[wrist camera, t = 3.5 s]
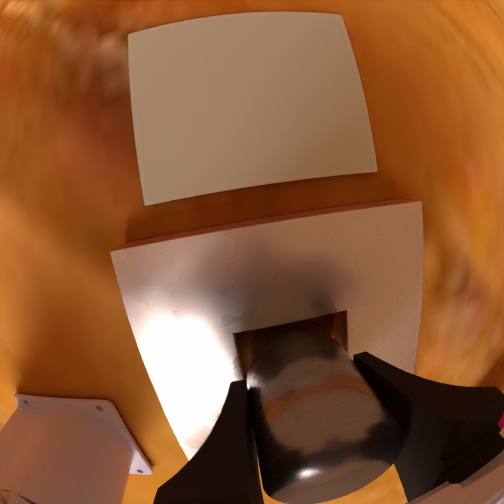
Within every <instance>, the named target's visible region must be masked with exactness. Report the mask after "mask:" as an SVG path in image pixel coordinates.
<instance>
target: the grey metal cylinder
mask: <svg viewBox="0 0 504 504" xmlns="http://www.w3.org/2000/svg"><path fill="white" fill-rule="evenodd" d="M251 360H252V362H251V364H250V367H249V369H248V373H247V387H248V393H249V400H250V407H251V415H252V421H253V428H254V434H255V441H256V447H257V454H258V460H259V466H260V472H261V478H262V484H263V489H264V491H265V492H266V494H267V495H268V496H270V497H271V498H273V499H275V500H277V501H280V502H283V503H288V504H314V503H321V502H326V501H330V500H333V499H337V498H340V497H343V496H345V495H348V494H350V493H352V492H355V491H357V490H359V489H361V488H362V487H364V486H366V485H368V484H369V483H371V482H372V481H374V480H375V479H377V478H378V477H379V476H380V475H382V474H383V473H384V472H385V471H386V470H387V469H388V468H389V467H390V466H391V465H392V464H393V463H394V462H395V461H396V459H397V458H398V456H399V455H400V453H401V451H402V449H403V447H404V443H405V434H404V431H403V430H402V428H401V427H400V425H399V424H398V422H397V421H396V420H395V418H394V417H393V415H392V414H391V413H390V411H389V410H388V408H387V407H386V406H385V404H384V403H383V401H382V400H381V399H380V397H379V396H378V395H377V393H376V392H375V390H374V389H373V388H372V386H371V385H370V383H369V382H368V381H367V379H366V378H365V377H364V375H363V374H362V372H361V371H360V370H359V368H358V367H357V366H356V364H355V363H354V362H353V360H352V359H351V357H350V356H349V355H348V353H347V352H346V351H345V349H344V348H343V347H342V345H341V344H340V343H339V342H338V341H337V340H336V339H334V338H333V337H331V336H329V335H327V334H324V333H322V331H321V330H320V329H319V327H318V326H317V325H316V324H314V323H313V322H311V321H309V320H307V319H305V320H300V321H295V322H291V323H286V324H281V325H276V326H270V327H265V328H264V329H262V330H261V331H260V332H259V334H258V335H257V336H256V338H255V340H254V342H253V344H252V348H251Z"/></svg>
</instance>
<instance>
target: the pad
mask: <svg viewBox="0 0 504 504" xmlns="http://www.w3.org/2000/svg"><path fill="white" fill-rule="evenodd" d="M128 57H129V79H130V94H131V106H132V117H133V127H134V136H135V144H136V152H137V159H138V167H139V173H140V180H141V186H142V192H143V198H144V204H145V206H148V205H152V204H157V203H162V202H167V201H172V200H177V199H182V198H187V197H192V196H198V195H203V194H209V193H215V192H220V191H226V190H232V189H239V188H245V187H251V186H258V185H265V184H272V183H279V182H286V181H294V180H302V179H310V178H319V177H328V176H337V175H347V174H358V173H370V172H378V169H377V162H376V155H375V148H374V142H373V136H372V131H371V125H370V120H369V115H368V110H367V105H366V100H365V96H364V91H363V87H362V83H361V79H360V75H359V71H358V67H357V63H356V60H355V56H354V53H353V49H352V46H351V42H350V39H349V36H348V33H347V30H346V27H345V24H344V21H343V18H342V15H339V14H329V13H315V12H251V13H237V14H227V15H218V16H210V17H203V18H197V19H191V20H185V21H180V22H175V23H170V24H166V25H161V26H157V27H153V28H149V29H145V30H141V31H138V32H134V33H131V34H128Z"/></svg>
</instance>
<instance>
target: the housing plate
mask: <svg viewBox="0 0 504 504" xmlns="http://www.w3.org/2000/svg"><path fill="white" fill-rule="evenodd" d="M110 254H111V259H112V263H113V267H114V271H115V274H116V278H117V282H118V285H119V289H120V293H121V296H122V299H123V303H124V306H125V309H126V313H127V316H128V319H129V322H130V325H131V328H132V331H133V334H134V337H135V340H136V343H137V346H138V348H139V351H140V354H141V356H142V359H143V362H144V364H145V367H146V370H147V372H148V375H149V377H150V380H151V382H152V384H153V387H154V389H155V392H156V394H157V396H158V399H159V401H160V403H161V405H162V408H163V410H164V412H165V414H166V416H167V418H168V421H169V423H170V425H171V427H172V429H173V431H174V433H175V435H176V437H177V439H178V441H179V443H180V445H181V447H182V449H183V451H184V452H185V454H186V456H187V458H188V460H190V459H191V458H192V457H193V456H194V455H195V453H196V452H197V451H198V450H199V448H200V447H201V446H202V444H203V443H204V441H205V440H206V438H207V437H208V435H209V434H210V432H211V430H212V428H213V426H214V424H215V423H216V421H217V419H218V417H219V414H220V412H221V410H222V407H223V405H224V402H225V399H226V396H227V393H228V389H229V385H230V383H231V382H232V381H238V380H244V379H245V377H244V373H243V368H242V363H241V359H240V354H239V349H238V345H237V340H236V335H235V333H237V332H243V331H249V330H254V329H260V328H265V327H270V326H276V325H281V324H286V323H291V322H295V321H300V320H305V319H309V318H314V317H318V316H323V315H327V314H331V313H333V318H334V339H336V340H337V341H338V342H339V343H340V344H341V345H342V347H343V348H344V349H345V351H346V352H347V353H348V355H349V356H350V357H351V359H352V360H353V355H354V354H358V353H361V352H364V351H366V352H368V353H370V354H372V355H374V356H376V357H378V358H380V359H381V360H383V361H385V362H387V363H389V364H391V365H393V366H395V367H397V368H399V369H402V370H404V371H406V372H409V373H411V374H413V372H414V366H415V360H416V353H417V346H418V338H419V329H420V320H421V308H422V294H423V269H424V236H423V211H422V201H416V200H407V199H393V200H385V201H377V202H369V203H361V204H354V205H346V206H339V207H332V208H325V209H318V210H311V211H304V212H298V213H291V214H285V215H278V216H272V217H265V218H259V219H253V220H247V221H241V222H235V223H229V224H223V225H218V226H212V227H206V228H201V229H195V230H189V231H184V232H179V233H173V234H168V235H163V236H157V237H152V238H147V239H142V240H137V241H132V242H127V243H124V244H122V245H120V246H119V247H117V248H115V249H114V250H112V251H110ZM258 461H259V460H258Z"/></svg>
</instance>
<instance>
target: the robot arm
mask: <svg viewBox="0 0 504 504" xmlns="http://www.w3.org/2000/svg"><path fill="white" fill-rule="evenodd" d="M353 362H354V363H355V364H356V366H357V367H358V368H359V370H360V371H361V372H362V374H363V375H364V377H365V378H366V379H367V381H368V382H369V383H370V385H371V386H372V388H373V389H374V390H375V392H376V393H377V395H378V396H379V397H380V399H381V400H382V401H383V403H384V404H385V406H386V407H387V408H388V410H389V411H390V413H391V414H392V415H393V417H394V418H395V420H396V421H397V422H398V424H399V425H400V427H401V428H402V430H403V431H404V434H405V443H404V447H403V449H402V451H401V453H400V455H399V456H398V458H397V459H396V461H395V462H394V465H395V468H396V470H397V472H398V475H399V478H400V480H401V483H402V486H403V488H404V491H405V494H406V498H407V501H408V503H406V504H500V503H501V502H502V501H503V500H504V438H503V437H502V436H501V434H500V432H501V428H500V427H499V426H498V423H499V421H500V419H501V417H502V415H503V413H504V394H503V393H502V392H501V391H500V390H499V389H498V388H496V387H464V386H455V385H449V384H444V383H439V382H435V381H432V380H428V379H425V378H422V377H419V376H416V375H414V374H411V373H409V372H406V371H404V370H402V369H399V368H397V367H395V366H393V365H391V364H389V363H387V362H385V361H383V360H381V359H380V358H378V357H376V356H374V355H372V354H370V353H368V352H366V351H364V352H361V353H358V354H354V355H353ZM14 400H15V402H16V404H17V405H18V408H17V409H16V410H15V412H14V413H13V414H12V416H11V417H10V418H9V420H8V421H7V423H6V424H5V425H4V427H3V428H2V430H1V431H0V504H122V501H123V497H124V492H125V488H126V484H127V480H128V476H129V474H145V475H150V474H152V473H153V468H152V467H151V465H150V464H149V462H148V461H147V459H146V458H145V456H144V455H143V453H142V452H141V450H140V449H139V447H138V446H137V444H136V442H135V441H134V439H133V438H132V436H131V434H130V433H129V431H128V429H127V428H126V426H125V424H124V422H123V421H122V419H121V417H120V415H119V413H118V412H117V410H116V408H115V406H114V405H113V403H112V402H110V401H108V400H98V399H70V398H55V397H43V396H33V395H25V394H15V395H14ZM101 407H102V408H101ZM153 504H264V501H263V495H262V490H261V484H260V479H259V470H258V454H257V447H256V441H255V434H254V428H253V421H252V415H251V407H250V400H249V393H248V388H247V383H246V379H244V380H238V381H232V382H231V383H230V385H229V389H228V393H227V396H226V399H225V402H224V405H223V407H222V410H221V412H220V414H219V417H218V419H217V421H216V423H215V424H214V426H213V428H212V430H211V432H210V434H209V435H208V437H207V438H206V440H205V441H204V443H203V444H202V446H201V447H200V448H199V450H198V451H197V452H196V453H195V455H194V456H193V457H192V458H191V459H190V460H189V461H188V463H187V464H186V465H185V466H184V467H183V468H182V469H181V470H180V471H179V472H178V473H176V474H175V475H174V476H173V477H172V478H171V479H169V480H168V481H167V482H166V483H164V484H163V485H162V486H160V487H159V488H158V490H157V493H156V496H155V499H154V502H153Z"/></svg>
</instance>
